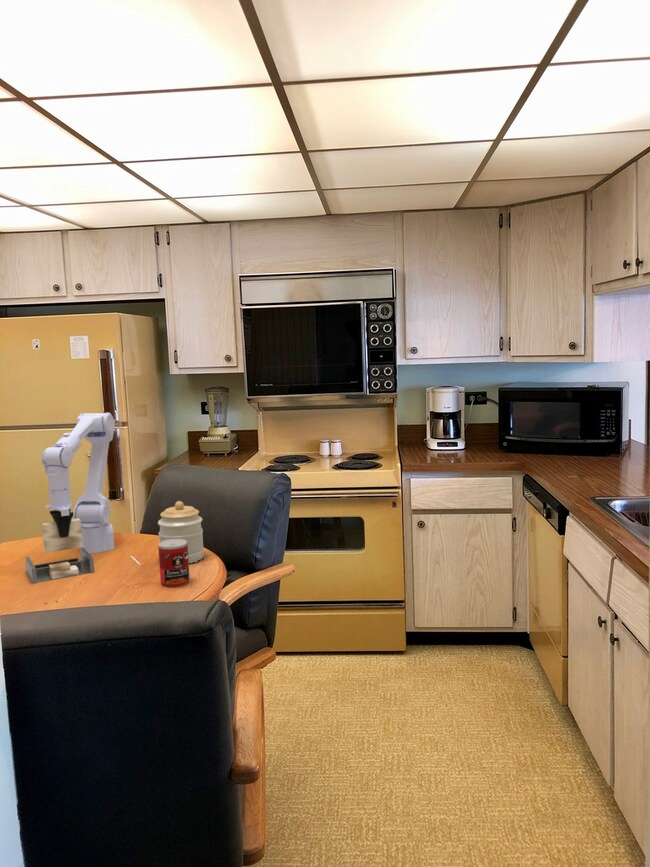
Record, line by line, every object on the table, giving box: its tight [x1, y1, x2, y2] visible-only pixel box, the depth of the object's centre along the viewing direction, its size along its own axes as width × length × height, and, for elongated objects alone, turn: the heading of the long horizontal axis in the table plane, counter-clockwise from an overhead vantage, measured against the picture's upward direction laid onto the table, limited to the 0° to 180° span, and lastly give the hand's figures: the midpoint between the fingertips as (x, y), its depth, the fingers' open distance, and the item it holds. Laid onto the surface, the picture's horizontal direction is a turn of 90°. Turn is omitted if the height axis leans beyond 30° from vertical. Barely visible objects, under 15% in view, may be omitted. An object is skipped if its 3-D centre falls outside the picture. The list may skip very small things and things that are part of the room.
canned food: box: [158, 539, 190, 588], centre depth 184 cm, size 8×8×11 cm
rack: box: [24, 547, 95, 584], centre depth 194 cm, size 16×13×5 cm
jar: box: [157, 500, 205, 564], centre depth 205 cm, size 13×13×18 cm
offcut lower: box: [49, 565, 79, 579], centre depth 191 cm, size 7×4×2 cm, turn 120°
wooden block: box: [41, 518, 83, 554], centre depth 197 cm, size 10×3×8 cm, turn 120°
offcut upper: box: [49, 562, 71, 573], centre depth 191 cm, size 5×3×2 cm
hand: (63, 535), depth 197 cm, fingers closed on wooden block, 3 cm apart
